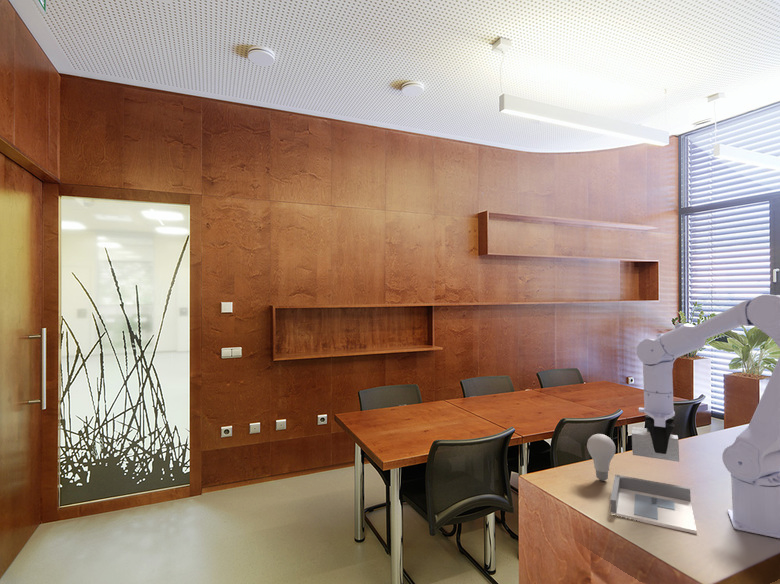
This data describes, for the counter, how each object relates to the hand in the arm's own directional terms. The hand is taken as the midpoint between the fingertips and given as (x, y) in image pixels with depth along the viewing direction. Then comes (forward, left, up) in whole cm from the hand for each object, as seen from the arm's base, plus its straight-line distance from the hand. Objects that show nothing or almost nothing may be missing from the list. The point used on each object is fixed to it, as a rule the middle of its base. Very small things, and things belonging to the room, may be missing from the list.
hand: (660, 450), depth 96 cm
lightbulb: (+12, +2, -9) cm, 15 cm away
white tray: (+2, +12, -8) cm, 15 cm away
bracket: (+1, -1, -1) cm, 2 cm away
